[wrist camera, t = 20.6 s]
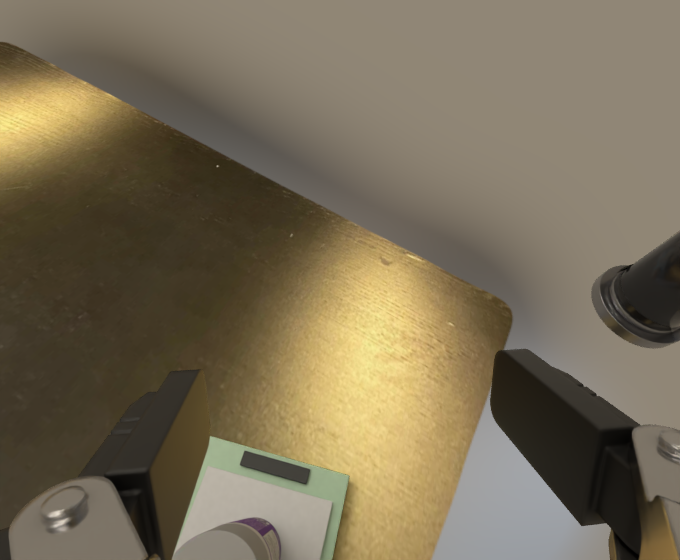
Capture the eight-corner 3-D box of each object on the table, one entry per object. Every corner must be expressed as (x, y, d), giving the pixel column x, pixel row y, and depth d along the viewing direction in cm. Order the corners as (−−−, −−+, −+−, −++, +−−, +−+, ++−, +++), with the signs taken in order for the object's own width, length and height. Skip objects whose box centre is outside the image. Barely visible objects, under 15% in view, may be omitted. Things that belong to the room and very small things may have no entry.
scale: (347, 477, 35) (350, 475, 32) (303, 682, 28) (304, 701, 25) (215, 439, 36) (208, 434, 33) (140, 630, 29) (123, 643, 26)
